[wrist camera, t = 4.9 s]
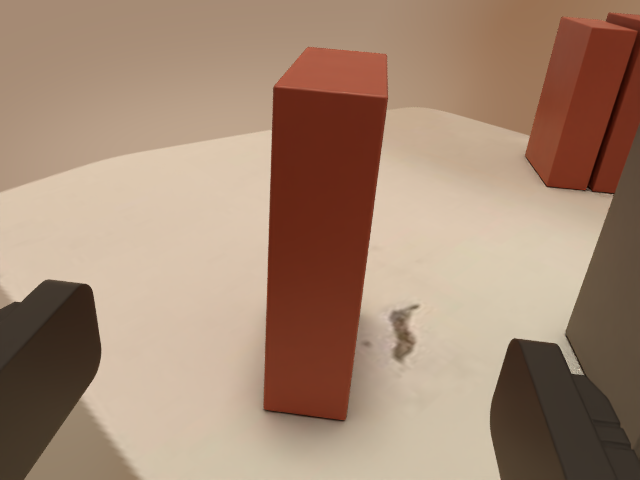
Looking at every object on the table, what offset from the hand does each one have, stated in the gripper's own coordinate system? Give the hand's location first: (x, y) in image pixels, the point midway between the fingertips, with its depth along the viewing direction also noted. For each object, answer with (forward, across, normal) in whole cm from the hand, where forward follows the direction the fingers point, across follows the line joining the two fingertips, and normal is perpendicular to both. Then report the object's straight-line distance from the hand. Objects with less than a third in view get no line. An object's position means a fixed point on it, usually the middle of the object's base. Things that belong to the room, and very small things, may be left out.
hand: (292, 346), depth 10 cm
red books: (+30, -18, +6) cm, 35 cm away
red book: (+7, 0, +6) cm, 9 cm away
